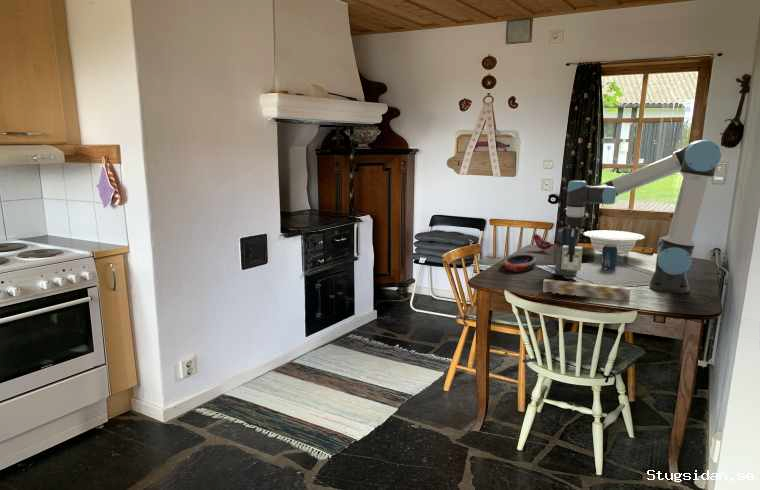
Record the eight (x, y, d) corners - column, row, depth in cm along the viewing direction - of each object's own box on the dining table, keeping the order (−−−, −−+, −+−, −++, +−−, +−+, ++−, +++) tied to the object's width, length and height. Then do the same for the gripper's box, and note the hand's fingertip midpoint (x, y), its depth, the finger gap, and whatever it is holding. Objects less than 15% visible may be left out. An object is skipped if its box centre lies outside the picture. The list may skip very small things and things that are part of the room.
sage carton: (580, 268, 236) (582, 246, 234) (579, 271, 231) (581, 248, 229) (562, 266, 239) (563, 245, 237) (560, 269, 234) (562, 247, 233)
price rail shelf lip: (629, 299, 217) (630, 287, 216) (629, 301, 213) (630, 289, 212) (543, 290, 231) (544, 279, 230) (542, 292, 227) (543, 281, 226)
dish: (542, 263, 282) (543, 254, 281) (524, 275, 256) (525, 265, 255) (514, 260, 290) (514, 251, 289) (494, 271, 265) (494, 262, 264)
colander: (652, 256, 295) (654, 234, 292) (629, 266, 273) (631, 242, 271) (596, 248, 318) (597, 228, 315) (571, 256, 296) (572, 234, 294)
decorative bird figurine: (533, 249, 317) (534, 233, 315) (559, 254, 303) (560, 237, 301) (530, 250, 315) (531, 233, 313) (557, 255, 302) (558, 237, 300)
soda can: (613, 267, 272) (615, 244, 270) (617, 270, 265) (619, 246, 263) (599, 266, 273) (601, 244, 270) (603, 269, 266) (605, 246, 264)
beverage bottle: (550, 276, 255) (553, 225, 250) (558, 270, 265) (561, 221, 260) (572, 279, 249) (575, 227, 244) (579, 273, 260) (582, 223, 255)
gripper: (567, 212, 240) (564, 262, 245) (563, 218, 224) (560, 271, 228) (585, 213, 237) (581, 263, 242) (582, 219, 221) (578, 272, 225)
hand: (571, 267), depth 235 cm, fingers closed on sage carton, 5 cm apart
